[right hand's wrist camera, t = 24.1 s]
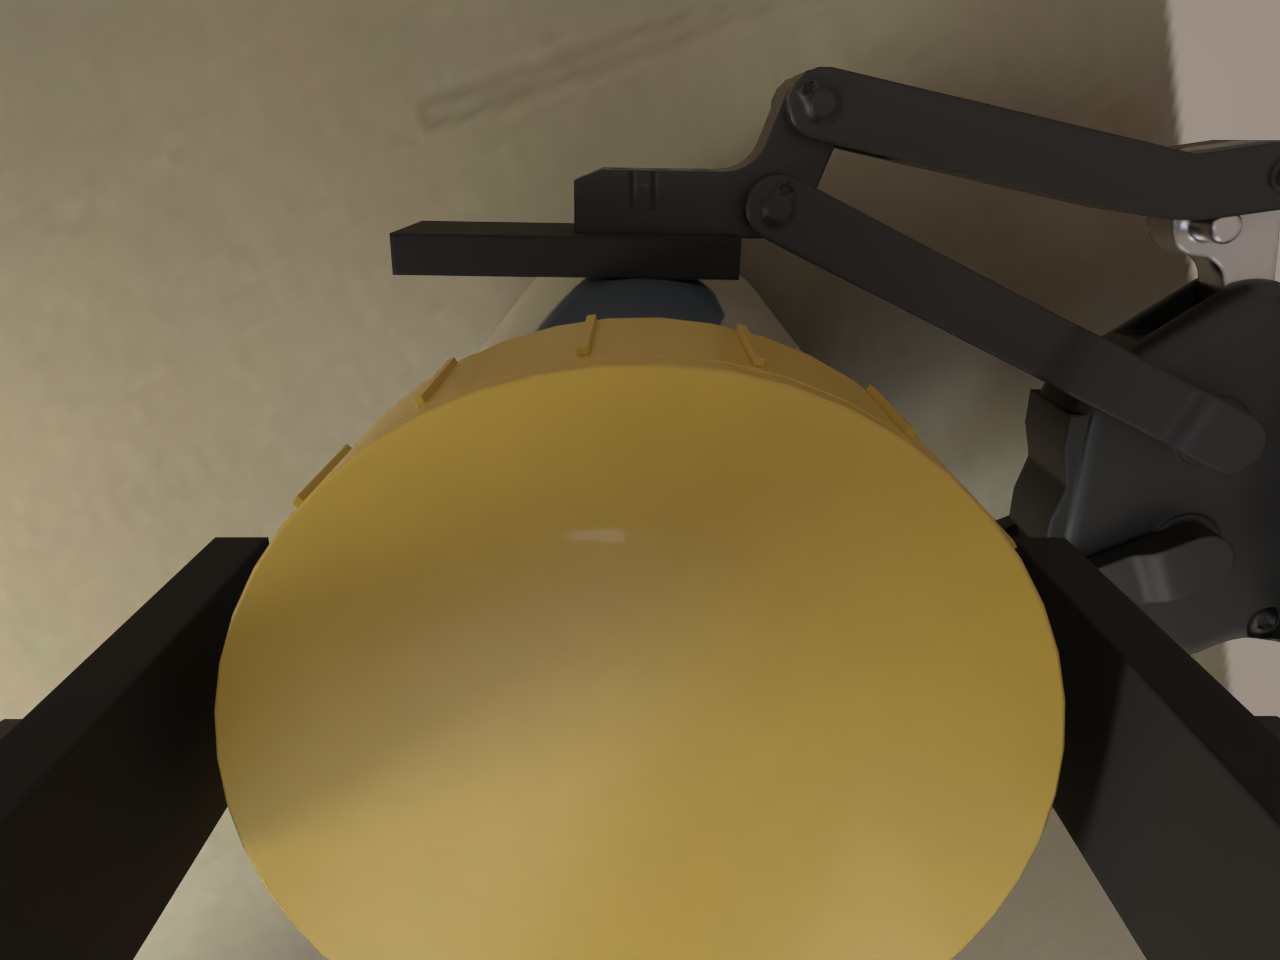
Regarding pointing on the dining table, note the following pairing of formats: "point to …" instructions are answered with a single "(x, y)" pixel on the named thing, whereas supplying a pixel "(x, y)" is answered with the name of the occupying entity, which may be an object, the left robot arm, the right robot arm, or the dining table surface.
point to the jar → (638, 305)
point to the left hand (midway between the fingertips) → (424, 461)
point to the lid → (639, 669)
